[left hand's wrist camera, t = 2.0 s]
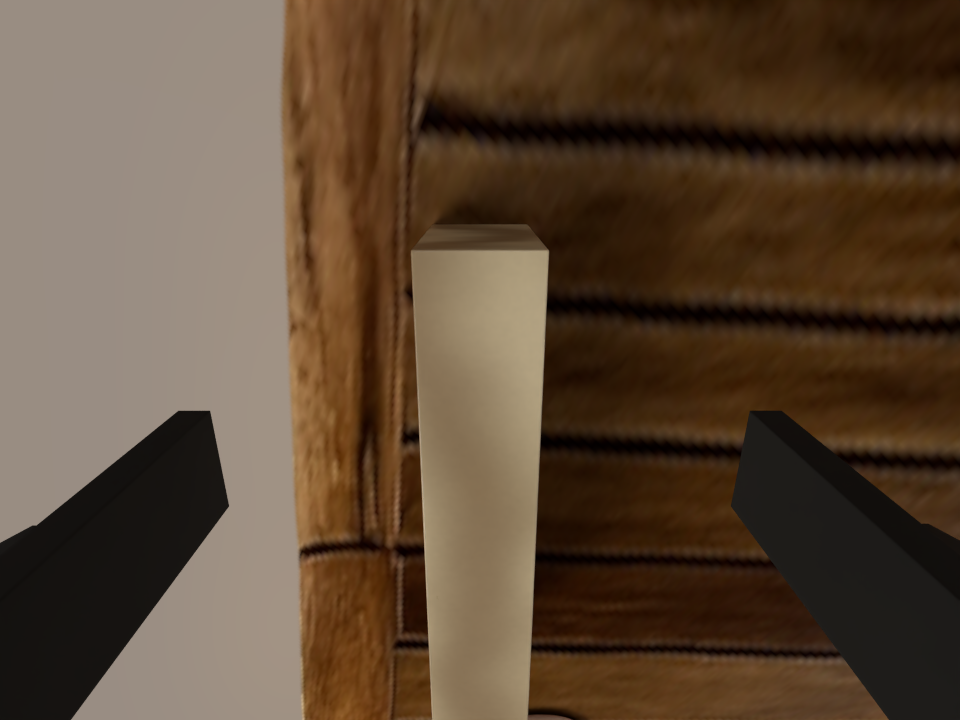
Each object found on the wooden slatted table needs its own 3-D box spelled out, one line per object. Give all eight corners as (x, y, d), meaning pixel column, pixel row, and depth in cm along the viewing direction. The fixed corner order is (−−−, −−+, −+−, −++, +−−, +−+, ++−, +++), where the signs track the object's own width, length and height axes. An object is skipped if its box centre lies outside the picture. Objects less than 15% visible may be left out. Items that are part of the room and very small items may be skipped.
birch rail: (527, 224, 27) (549, 249, 19) (515, 608, 36) (526, 742, 28) (432, 224, 27) (410, 249, 19) (443, 608, 36) (433, 742, 28)
